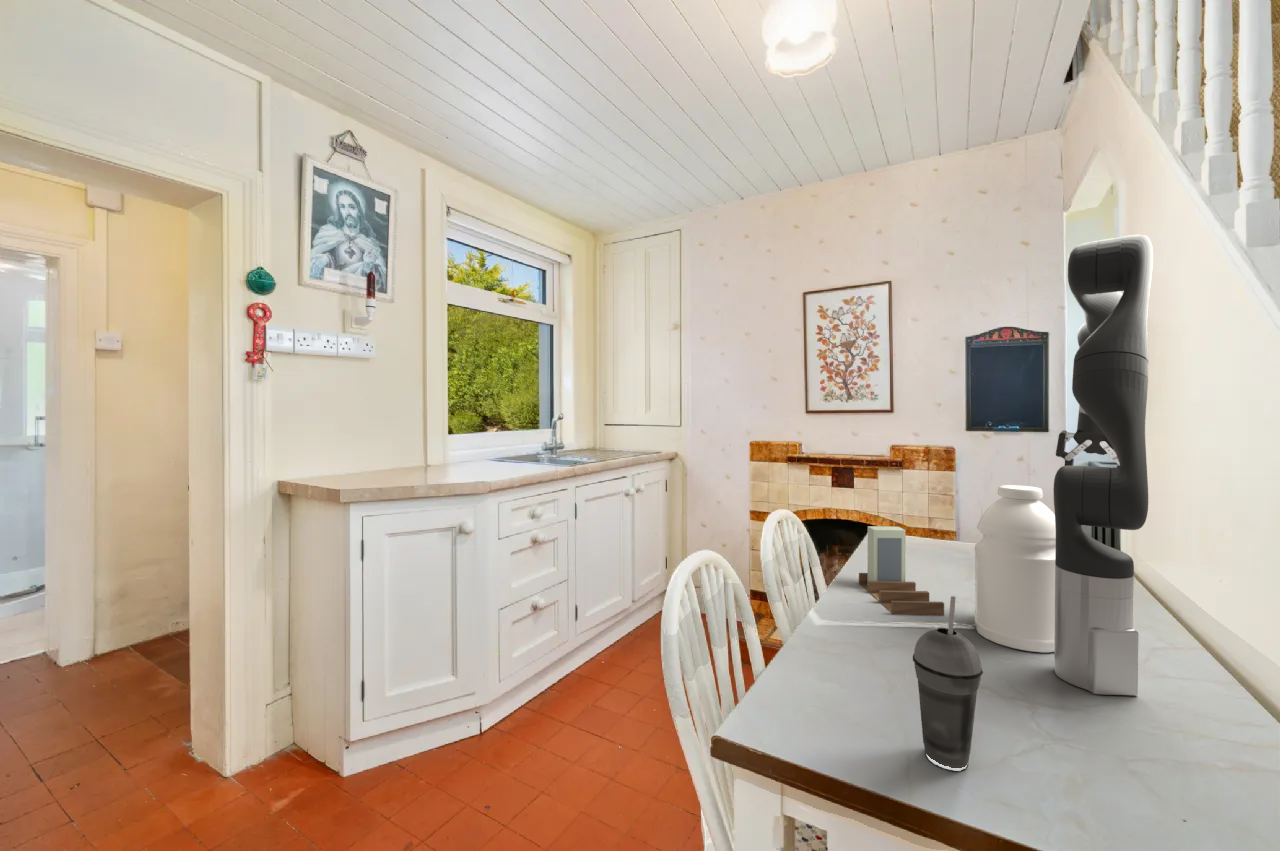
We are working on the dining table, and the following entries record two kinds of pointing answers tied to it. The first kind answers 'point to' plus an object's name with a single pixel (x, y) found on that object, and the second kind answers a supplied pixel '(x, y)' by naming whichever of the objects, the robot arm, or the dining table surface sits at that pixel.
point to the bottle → (1016, 571)
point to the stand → (901, 597)
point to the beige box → (886, 553)
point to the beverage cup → (947, 692)
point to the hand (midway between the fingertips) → (1093, 477)
